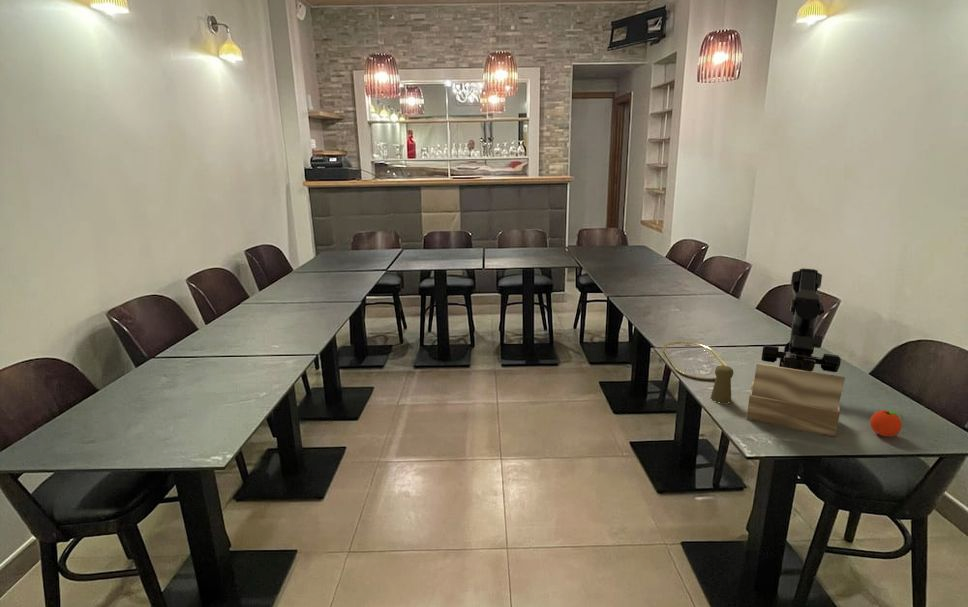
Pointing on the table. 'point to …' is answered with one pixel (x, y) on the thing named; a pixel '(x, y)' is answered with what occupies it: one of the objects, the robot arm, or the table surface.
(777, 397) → the carton flap
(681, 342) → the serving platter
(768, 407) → the kraft carton
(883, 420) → the clementine
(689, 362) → the table surface
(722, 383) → the cork
